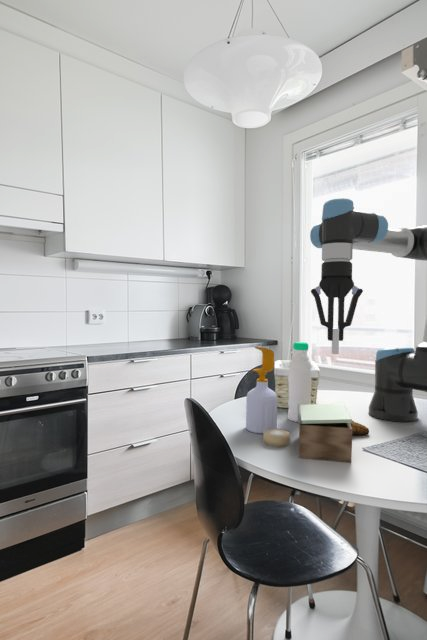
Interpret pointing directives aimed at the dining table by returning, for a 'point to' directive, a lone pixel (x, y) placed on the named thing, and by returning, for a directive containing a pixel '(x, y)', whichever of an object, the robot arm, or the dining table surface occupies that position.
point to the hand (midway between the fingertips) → (335, 353)
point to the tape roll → (276, 437)
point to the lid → (323, 413)
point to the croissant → (359, 429)
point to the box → (326, 441)
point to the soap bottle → (262, 398)
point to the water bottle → (299, 380)
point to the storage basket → (283, 382)
